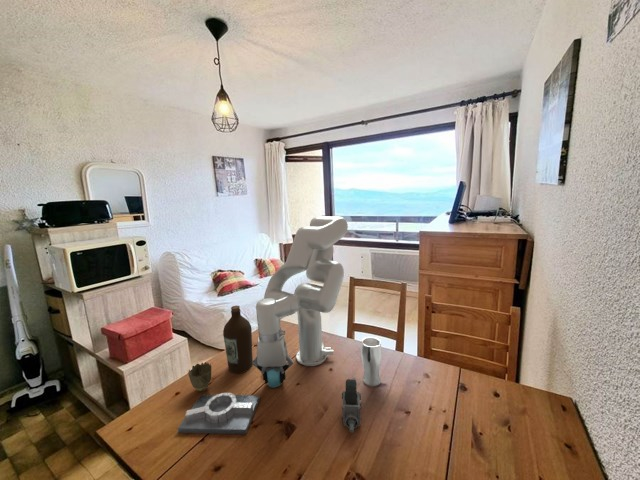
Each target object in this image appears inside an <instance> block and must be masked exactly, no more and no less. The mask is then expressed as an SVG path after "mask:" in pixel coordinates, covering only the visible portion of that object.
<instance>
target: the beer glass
mask: <svg viewBox="0 0 640 480" xmlns="http://www.w3.org/2000/svg"><path fill="white" fill-rule="evenodd" d="M360 347H361V349H360V350H361V355H360V356H361V361H362V365H363V377H362V381H363V383H364V384H365V385H366V386H369V387H377V386H379V385H380V384H381V378H380V370H381V363H382V358H383V357H382V342H381V340H380V339H379V338H377V337H374V336H366V337H364V338H362V340H361V346H360Z"/></svg>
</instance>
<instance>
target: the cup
mask: <svg viewBox="0 0 640 480" xmlns="http://www.w3.org/2000/svg"><path fill="white" fill-rule="evenodd" d="M191 368H192V369H188V373H187V374H188V377H189V381H190V384H191V386H192V387H193V388H194V389H196V391H197V392H200V393H201V392H202V393H203V392H204V391H207V389H208V387H209V384H210V383H211V380H212V365H211V363H209V362H204V363H203V362H201V364H200V363H196V364H195V365H192V367H191Z"/></svg>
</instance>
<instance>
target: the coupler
mask: <svg viewBox="0 0 640 480" xmlns="http://www.w3.org/2000/svg"><path fill="white" fill-rule="evenodd" d="M265 371H266V372H267V380H268V383H267V386H268V387H269V388H277V387H279V386H281V385H282V384H281V382H280V372H281V371H280V369H279V366H275V367H266V368H265Z"/></svg>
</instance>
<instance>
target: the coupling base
mask: <svg viewBox="0 0 640 480" xmlns="http://www.w3.org/2000/svg"><path fill="white" fill-rule="evenodd" d="M259 402H260V395H259V394H258V395H255V394H253V395H251V394H250V395H249V394H234V393H232V392H221V393H218V394H200V396H199V397H198V398H197V399H196V401H195V403H194V404H193V405H192V407H191V409H188V410H186V412H185V417H184V419H183V420H182V421H181V423H180V424H179V426H177V433H178V434H214V435H215V434H218V435H220V434H221V435H223V434H224V435H247V433H248V431H249V429H250V425H251V423H252V421H253V418H254V415H255V413H256V410H257V407H258V405H259Z"/></svg>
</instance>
